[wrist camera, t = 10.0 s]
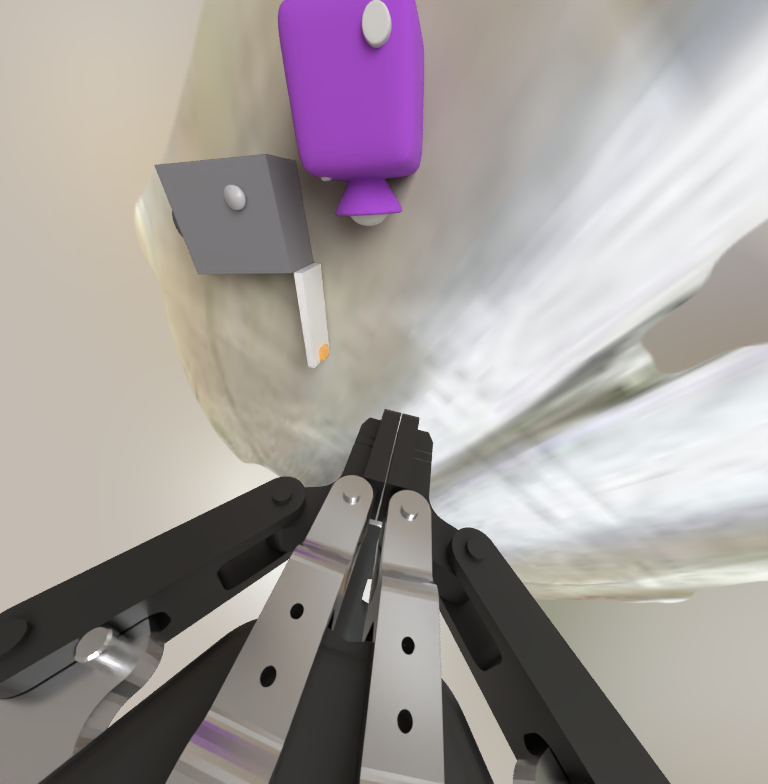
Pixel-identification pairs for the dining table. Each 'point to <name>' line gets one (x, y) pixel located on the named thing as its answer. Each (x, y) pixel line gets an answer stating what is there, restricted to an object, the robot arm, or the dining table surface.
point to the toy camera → (356, 95)
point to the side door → (312, 313)
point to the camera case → (239, 214)
